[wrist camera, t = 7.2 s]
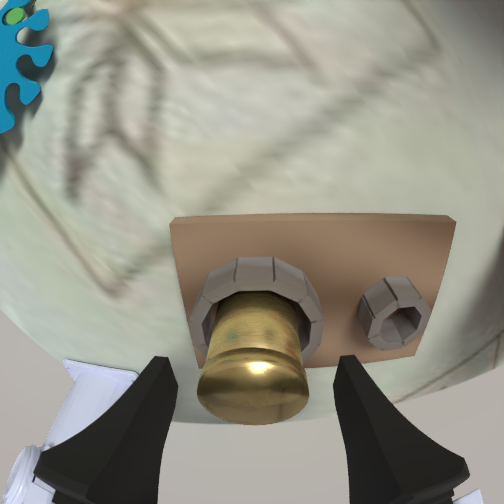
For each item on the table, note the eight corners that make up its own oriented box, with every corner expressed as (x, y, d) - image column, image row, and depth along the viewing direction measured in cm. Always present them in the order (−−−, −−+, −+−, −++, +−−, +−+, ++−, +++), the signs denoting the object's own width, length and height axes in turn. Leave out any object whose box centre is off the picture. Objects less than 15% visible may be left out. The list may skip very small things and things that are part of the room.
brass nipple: (296, 332, 16) (307, 421, 10) (224, 337, 16) (210, 425, 11) (294, 269, 14) (310, 359, 9) (210, 275, 14) (184, 364, 9)
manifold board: (409, 346, 18) (423, 375, 15) (201, 357, 18) (193, 391, 16) (447, 215, 13) (476, 236, 11) (175, 217, 14) (155, 242, 11)
